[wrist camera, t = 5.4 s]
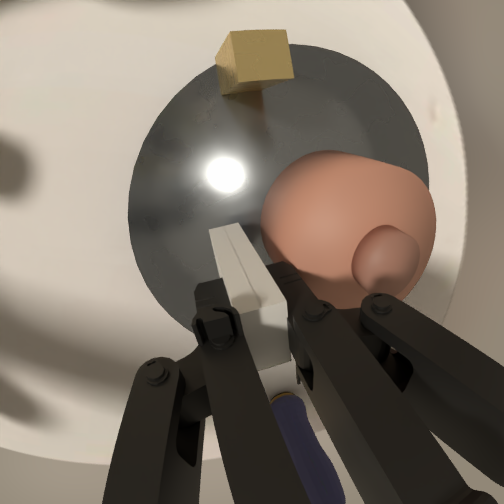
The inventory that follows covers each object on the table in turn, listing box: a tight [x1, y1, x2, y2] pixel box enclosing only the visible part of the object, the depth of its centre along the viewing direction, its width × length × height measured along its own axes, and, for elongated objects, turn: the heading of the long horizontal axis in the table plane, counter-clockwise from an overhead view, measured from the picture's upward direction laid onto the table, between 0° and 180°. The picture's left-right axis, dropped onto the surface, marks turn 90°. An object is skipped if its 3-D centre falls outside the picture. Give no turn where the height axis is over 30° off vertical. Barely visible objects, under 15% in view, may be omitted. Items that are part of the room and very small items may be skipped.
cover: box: [260, 150, 436, 309], centre depth 13 cm, size 8×8×6 cm
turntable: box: [128, 30, 429, 333], centre depth 15 cm, size 20×20×6 cm
